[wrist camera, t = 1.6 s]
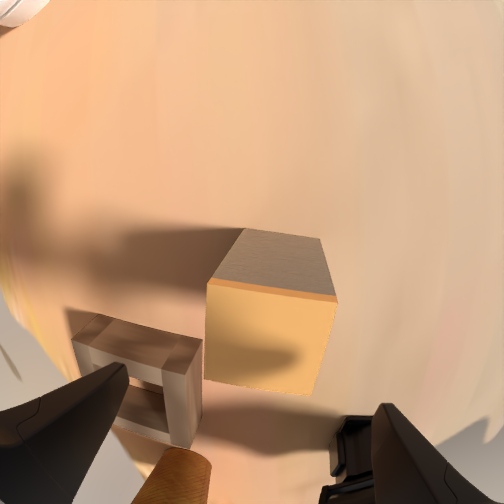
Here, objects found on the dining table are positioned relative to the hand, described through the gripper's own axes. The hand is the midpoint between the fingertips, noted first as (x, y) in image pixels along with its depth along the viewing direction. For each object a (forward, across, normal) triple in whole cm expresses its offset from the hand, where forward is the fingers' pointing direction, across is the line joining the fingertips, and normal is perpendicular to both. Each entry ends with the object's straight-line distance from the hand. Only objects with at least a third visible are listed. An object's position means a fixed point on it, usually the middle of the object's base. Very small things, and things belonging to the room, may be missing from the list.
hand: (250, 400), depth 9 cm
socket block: (+12, +10, +12) cm, 20 cm away
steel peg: (+12, 0, 0) cm, 12 cm away
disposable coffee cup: (+12, +7, +28) cm, 31 cm away
